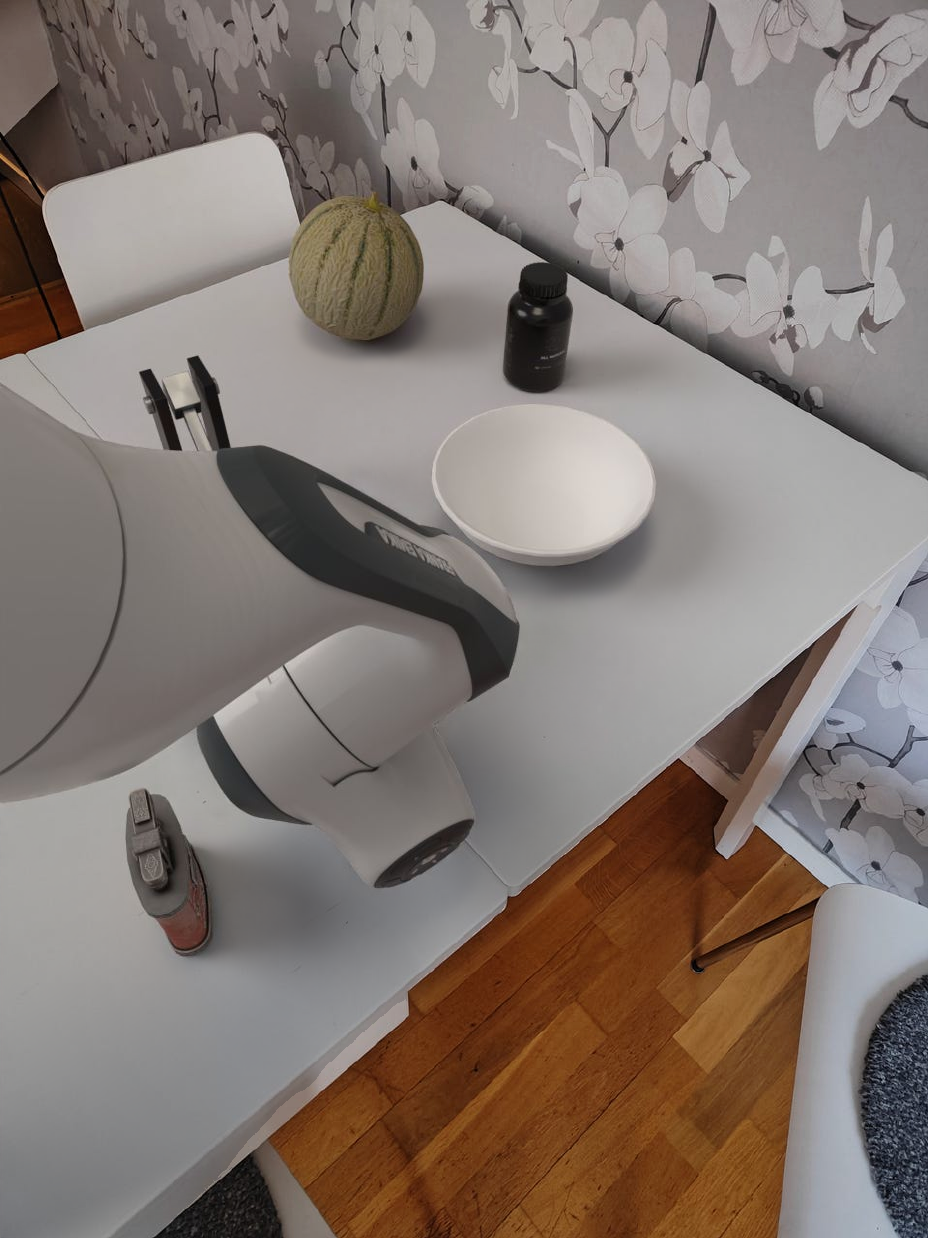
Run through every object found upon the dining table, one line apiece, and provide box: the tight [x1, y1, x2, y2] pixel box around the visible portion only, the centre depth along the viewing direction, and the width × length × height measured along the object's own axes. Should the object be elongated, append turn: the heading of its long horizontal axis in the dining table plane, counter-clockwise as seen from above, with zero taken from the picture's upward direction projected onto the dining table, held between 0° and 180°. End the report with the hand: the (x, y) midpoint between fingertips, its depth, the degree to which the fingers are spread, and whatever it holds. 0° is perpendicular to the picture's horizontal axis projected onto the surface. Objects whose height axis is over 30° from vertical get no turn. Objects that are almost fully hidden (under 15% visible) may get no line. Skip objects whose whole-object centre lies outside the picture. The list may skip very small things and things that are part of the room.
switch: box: [161, 370, 213, 451], centre depth 72 cm, size 14×4×4 cm
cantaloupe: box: [288, 190, 425, 341], centre depth 95 cm, size 15×15×15 cm
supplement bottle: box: [502, 261, 574, 393], centre depth 92 cm, size 7×7×12 cm
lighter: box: [125, 787, 214, 958], centre depth 55 cm, size 8×3×10 cm, turn 22°
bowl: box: [431, 403, 657, 567], centre depth 79 cm, size 20×20×6 cm
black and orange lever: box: [138, 354, 232, 451], centre depth 76 cm, size 10×8×15 cm
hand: (249, 539), depth 67 cm, fingers open, 8 cm apart
